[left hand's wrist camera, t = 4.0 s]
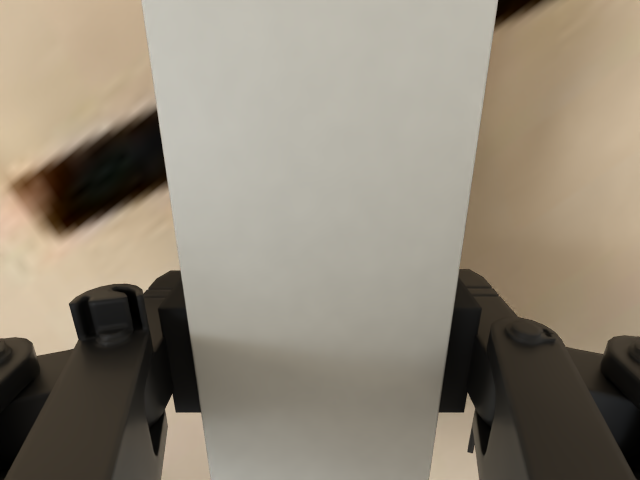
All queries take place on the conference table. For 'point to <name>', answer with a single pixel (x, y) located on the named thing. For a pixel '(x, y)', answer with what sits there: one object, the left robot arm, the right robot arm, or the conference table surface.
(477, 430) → the left robot arm
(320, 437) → the beam
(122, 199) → the conference table surface
